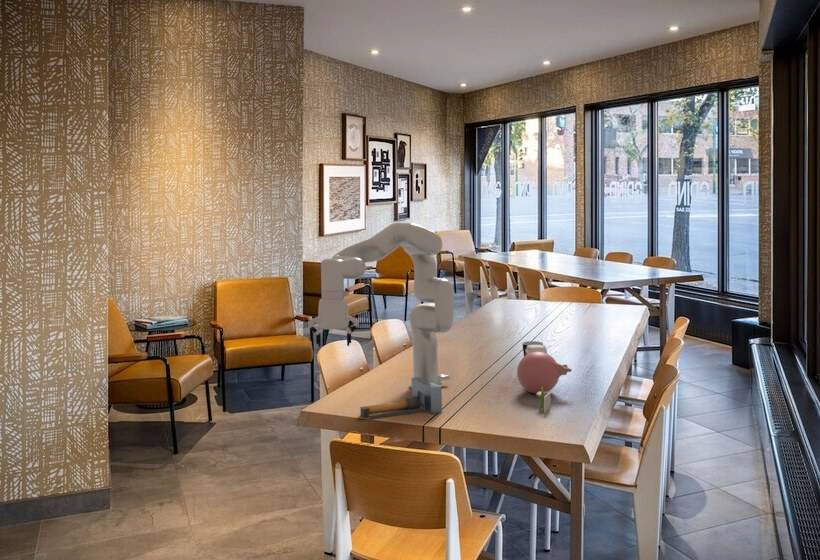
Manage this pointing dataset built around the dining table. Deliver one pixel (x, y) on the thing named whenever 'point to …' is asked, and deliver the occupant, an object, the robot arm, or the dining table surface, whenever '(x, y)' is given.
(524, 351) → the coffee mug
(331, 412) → the dining table surface
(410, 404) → the hammer
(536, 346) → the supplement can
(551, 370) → the pink bulb shape
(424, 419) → the dining table surface
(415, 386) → the housing
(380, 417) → the guide
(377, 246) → the robot arm
